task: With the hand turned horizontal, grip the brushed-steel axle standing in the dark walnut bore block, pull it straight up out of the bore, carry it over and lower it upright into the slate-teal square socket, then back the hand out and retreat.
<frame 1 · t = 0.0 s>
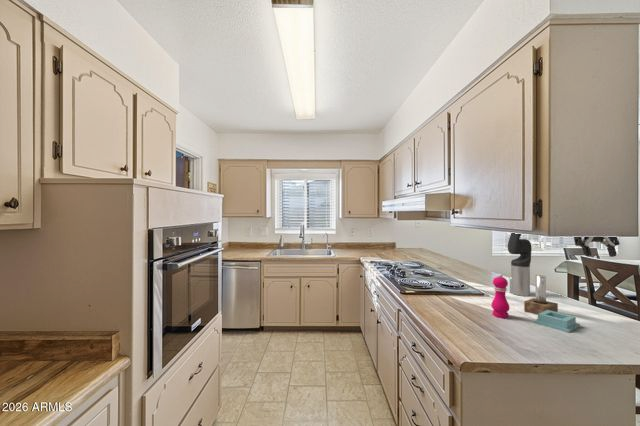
hand: (600, 256, 110), 31 cm above the counter, tool tilted 20°, fingers open, 8 cm apart
bore block: (540, 312, 135), on the counter
socket: (556, 324, 120), on the counter
pepper mill: (500, 316, 130), on the counter
axle: (540, 294, 135), in the bore block
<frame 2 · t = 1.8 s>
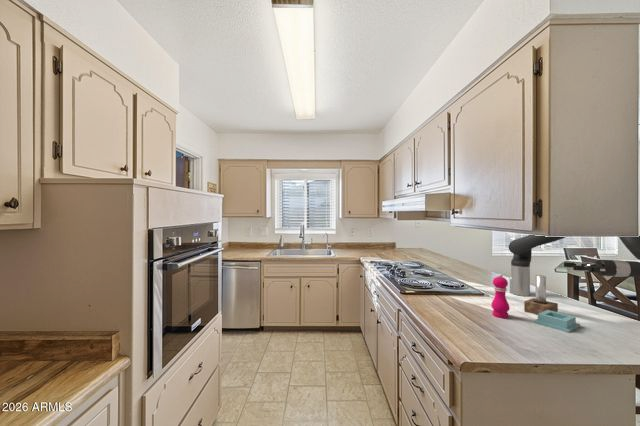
hand: (568, 266, 131), 23 cm above the counter, tool horizontal, fingers open, 8 cm apart
nothing on the counter moved.
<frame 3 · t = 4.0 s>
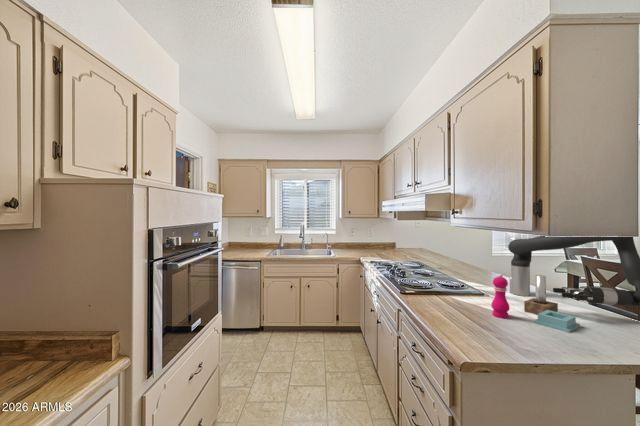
hand: (557, 292, 133), 10 cm above the counter, tool horizontal, fingers open, 8 cm apart
nothing on the counter moved.
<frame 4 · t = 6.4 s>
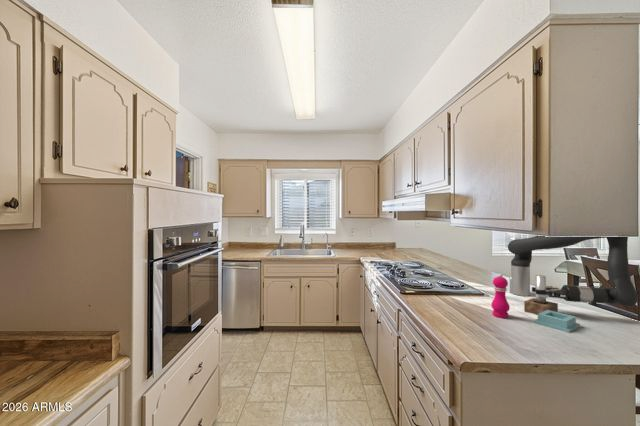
hand: (534, 290, 136), 10 cm above the counter, tool horizontal, fingers closed on axle, 4 cm apart
axle: (540, 294, 135), in the bore block, touching gripper
everything else where it was.
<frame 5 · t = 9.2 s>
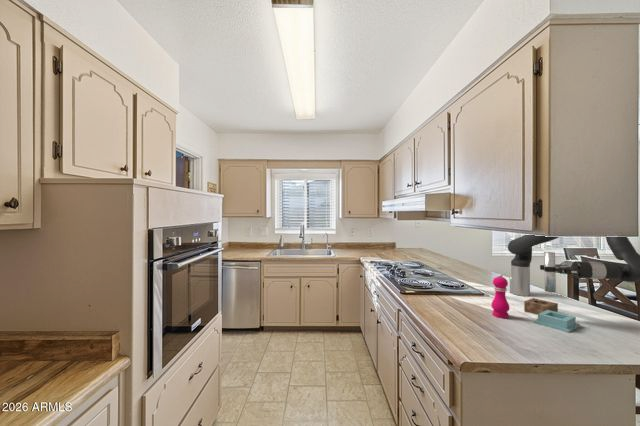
hand: (542, 268, 128), 23 cm above the counter, tool horizontal, fingers closed on axle, 4 cm apart
axle: (549, 271, 127), point 22 cm above the counter, touching gripper
everything else where it was.
when the fingers open (12 cm above the counter, at t = 12.1 s): axle stays where it is, resting on socket.
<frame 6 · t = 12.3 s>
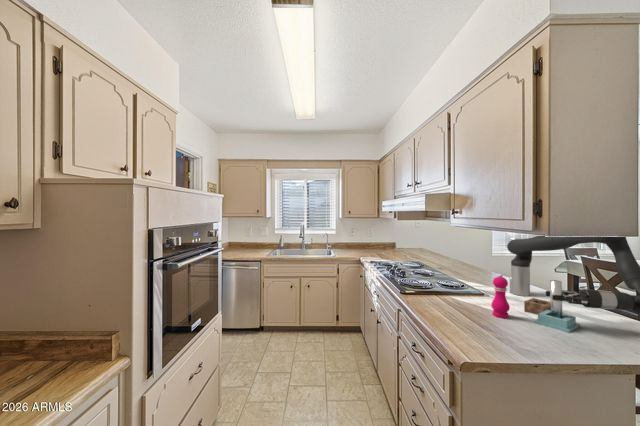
hand: (549, 295, 121), 12 cm above the counter, tool horizontal, fingers open, 6 cm apart
axle: (556, 301, 120), in the socket, point 10 cm above the counter
everything else where it was.
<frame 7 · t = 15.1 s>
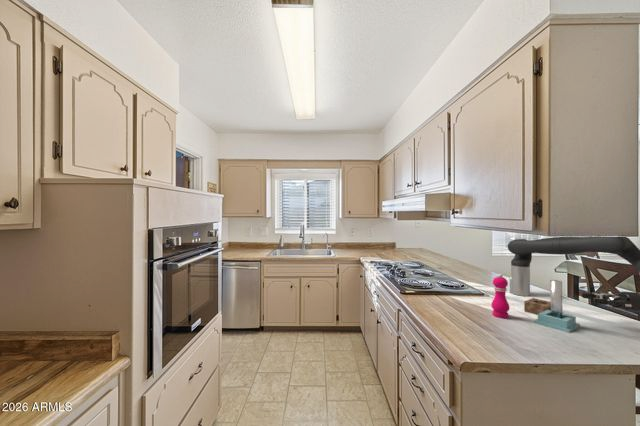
hand: (588, 298, 117), 13 cm above the counter, tool horizontal, fingers open, 8 cm apart
nothing on the counter moved.
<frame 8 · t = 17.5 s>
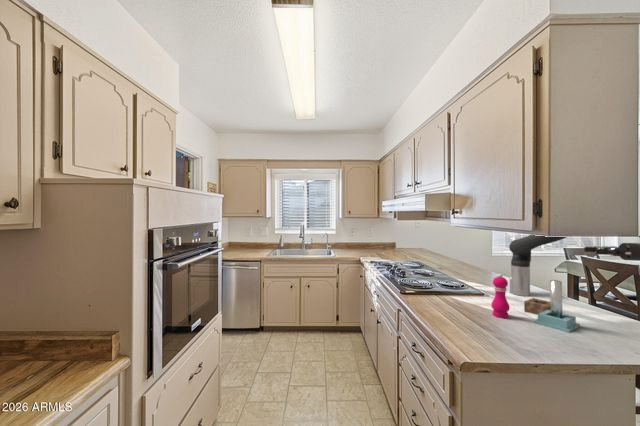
hand: (590, 250, 124), 32 cm above the counter, tool horizontal, fingers open, 8 cm apart
nothing on the counter moved.
at the end: axle 0.1 cm off-centre on the socket, point 10.0 cm above the socket's base; axle tilted 2°; the gripper is holding nothing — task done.
